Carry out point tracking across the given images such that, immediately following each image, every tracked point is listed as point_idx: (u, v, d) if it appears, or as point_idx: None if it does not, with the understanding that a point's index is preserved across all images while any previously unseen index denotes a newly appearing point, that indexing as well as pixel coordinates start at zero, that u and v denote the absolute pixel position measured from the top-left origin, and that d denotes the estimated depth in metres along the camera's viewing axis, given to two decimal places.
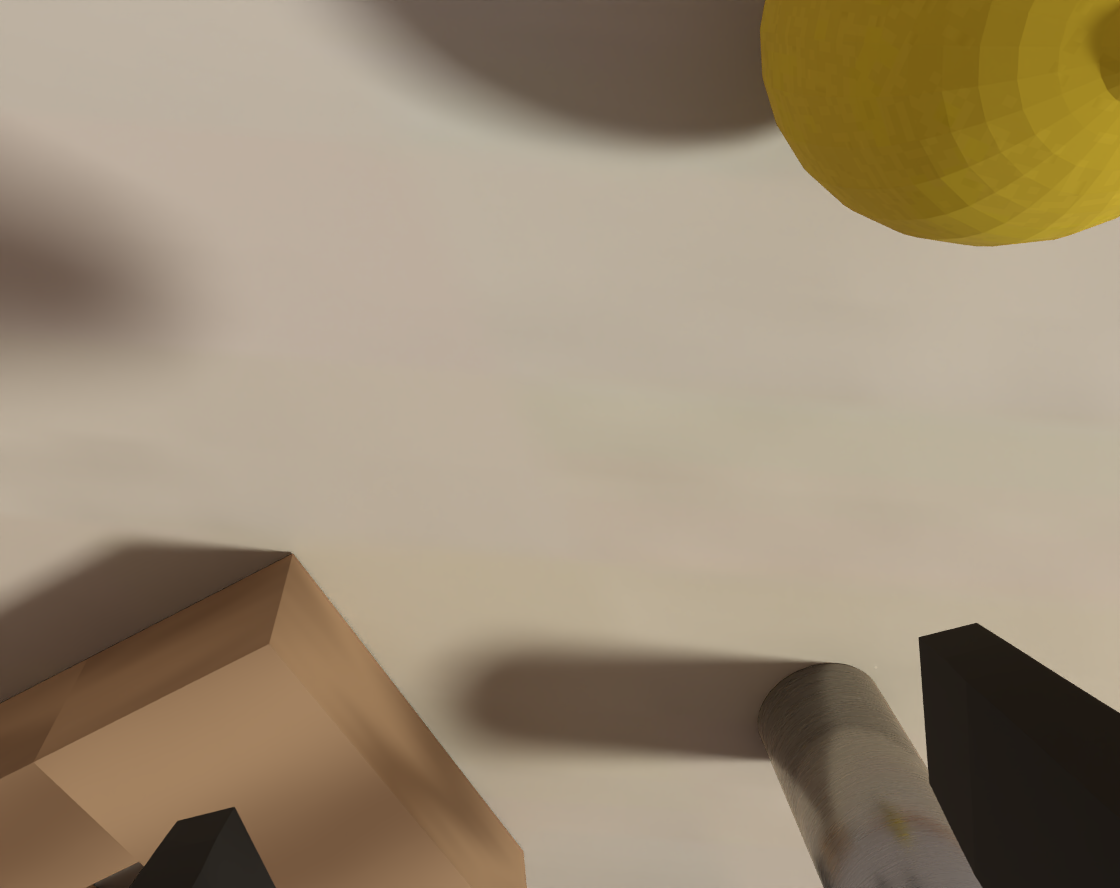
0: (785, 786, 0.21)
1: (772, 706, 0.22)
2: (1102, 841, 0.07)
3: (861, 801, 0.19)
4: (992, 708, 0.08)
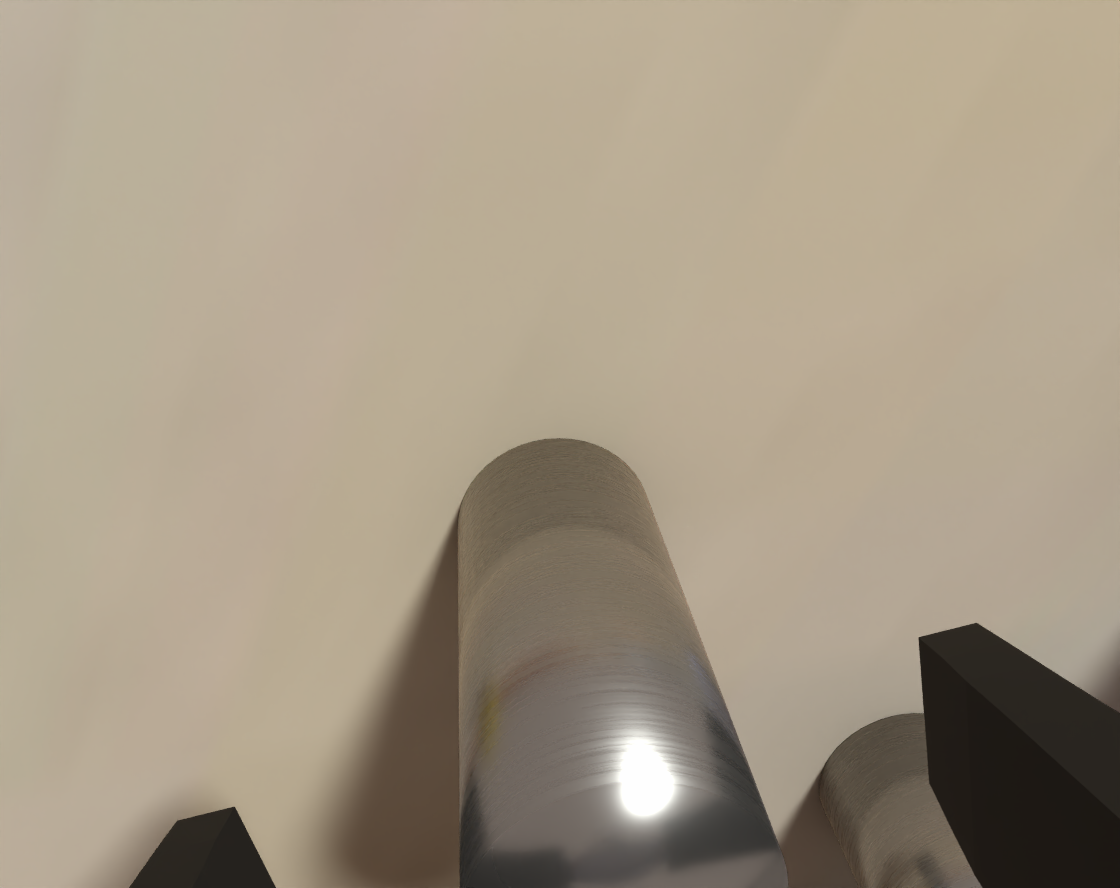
0: None
1: None
2: (1102, 841, 0.07)
3: None
4: (992, 708, 0.08)
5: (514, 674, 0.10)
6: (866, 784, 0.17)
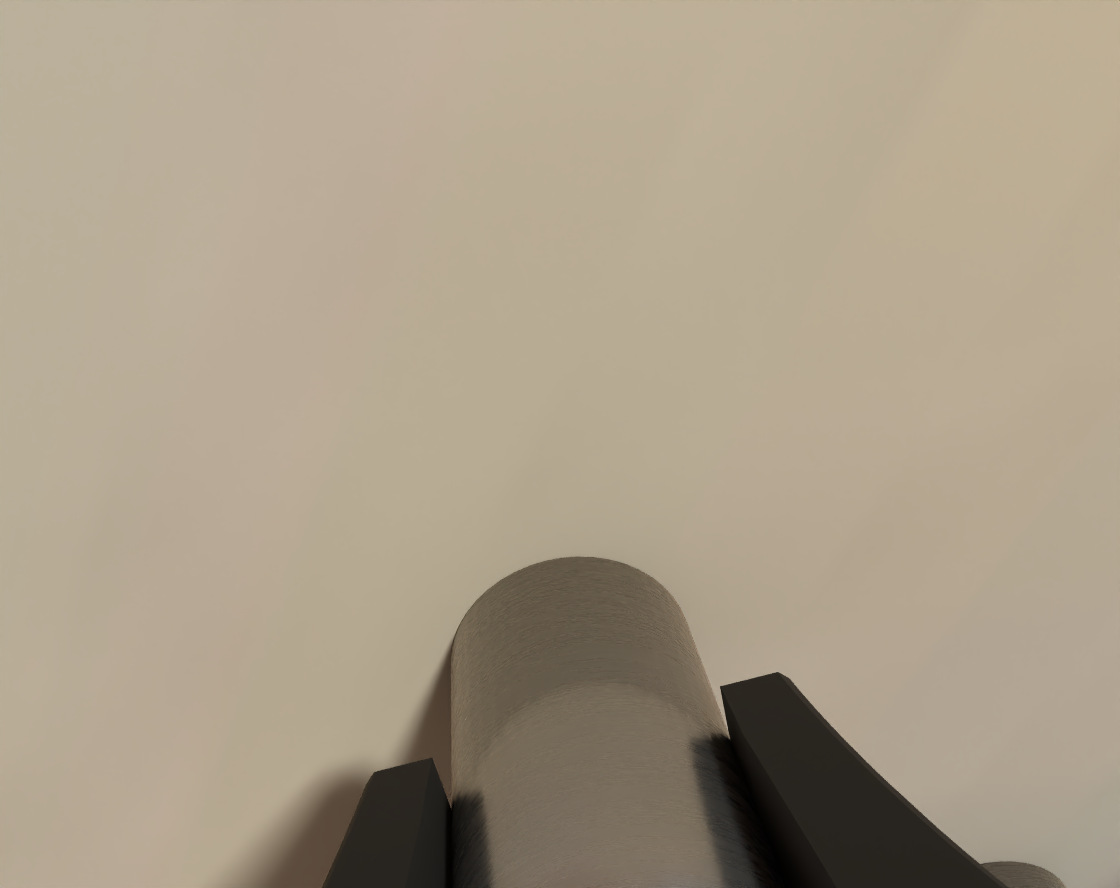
0: None
1: None
2: None
3: None
4: (761, 765, 0.08)
5: None
6: None
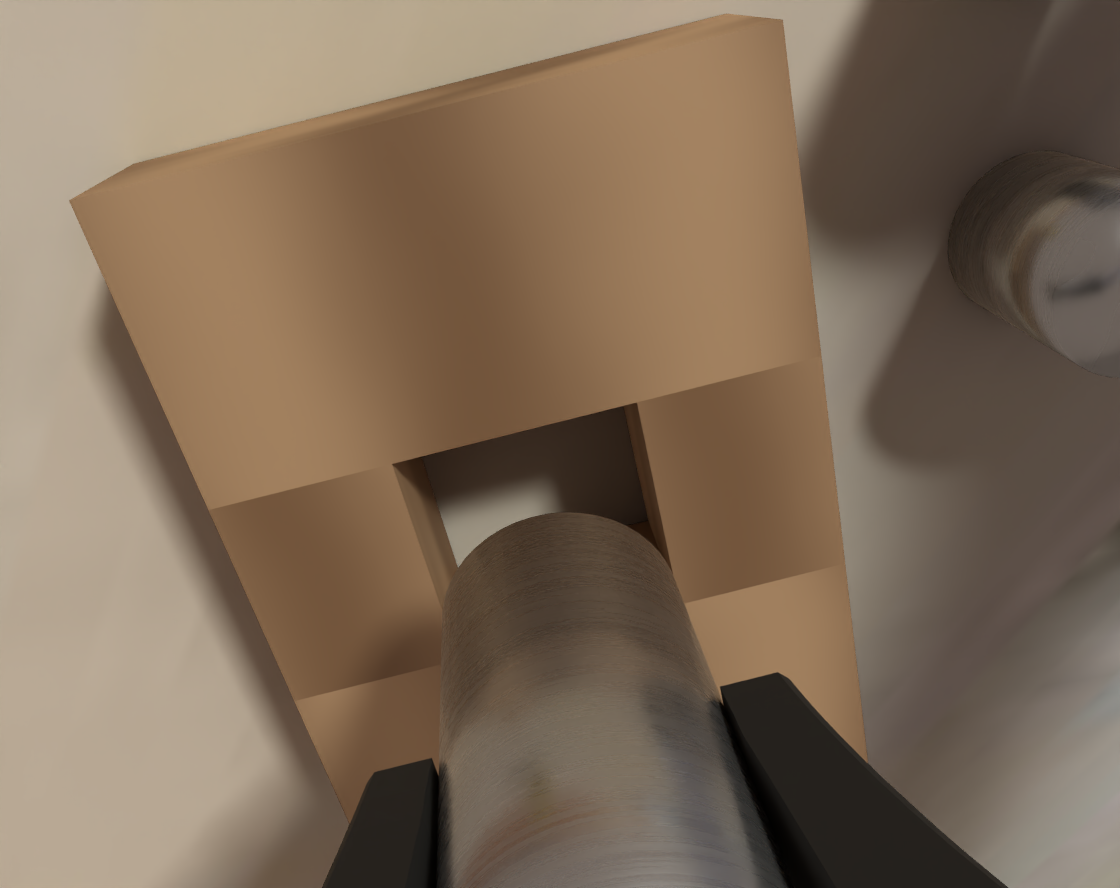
0: None
1: None
2: None
3: None
4: (761, 765, 0.08)
5: (528, 865, 0.07)
6: None
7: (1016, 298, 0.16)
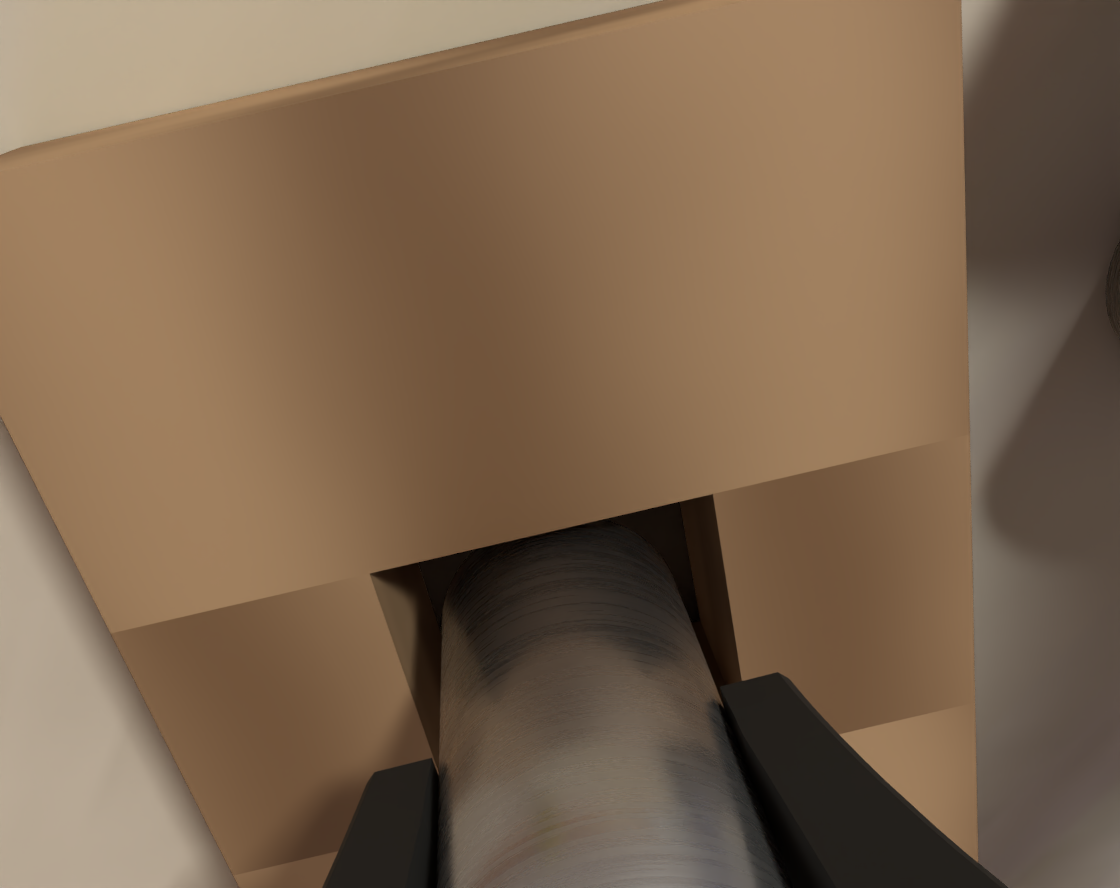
0: None
1: None
2: None
3: None
4: (761, 765, 0.08)
5: (528, 869, 0.07)
6: None
7: None
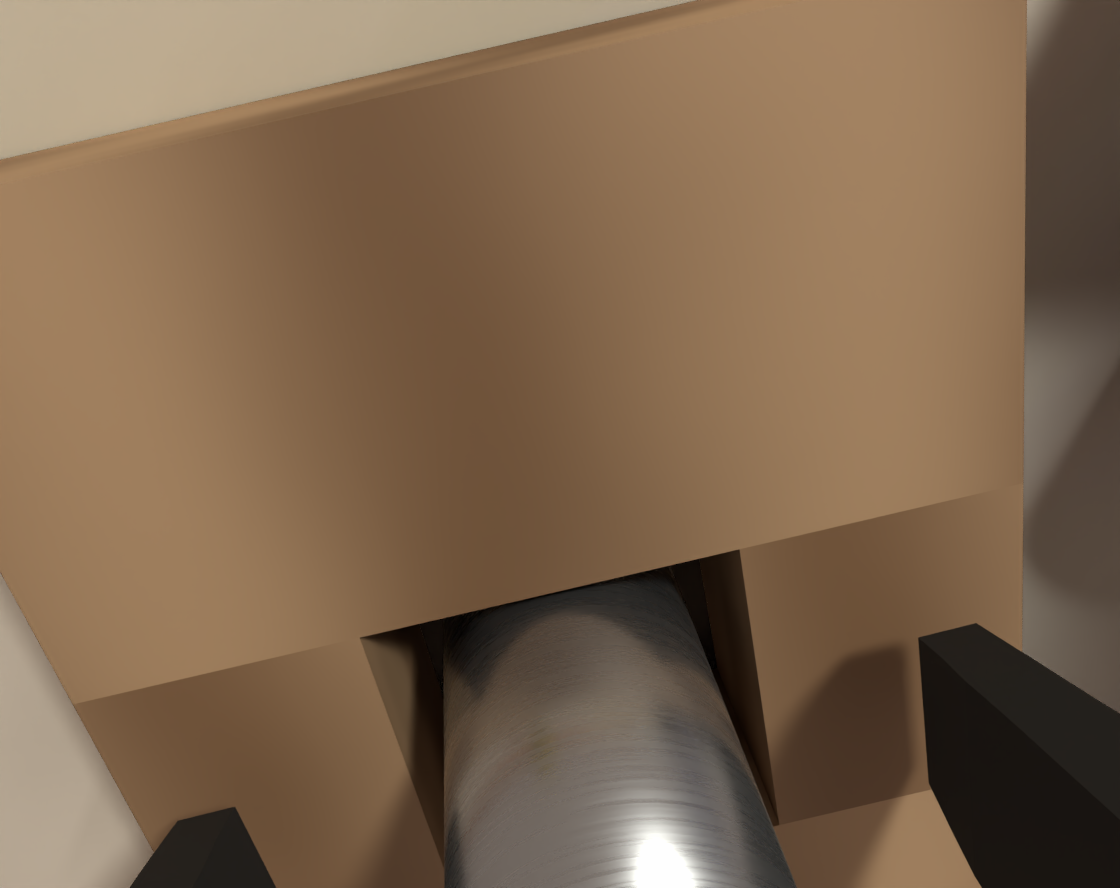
0: None
1: None
2: (1101, 841, 0.07)
3: None
4: (992, 708, 0.08)
5: (525, 762, 0.08)
6: None
7: None
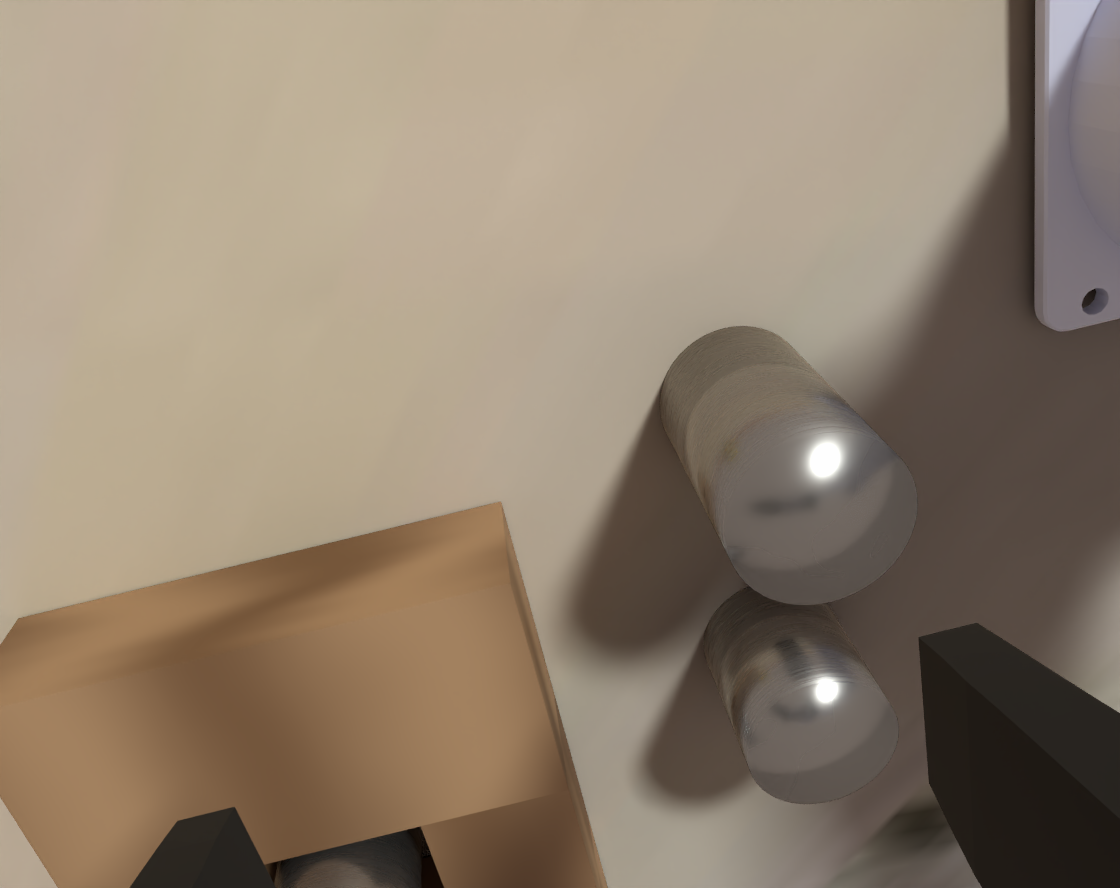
0: None
1: None
2: (1102, 841, 0.07)
3: None
4: (992, 708, 0.08)
5: None
6: (692, 374, 0.18)
7: (734, 730, 0.20)
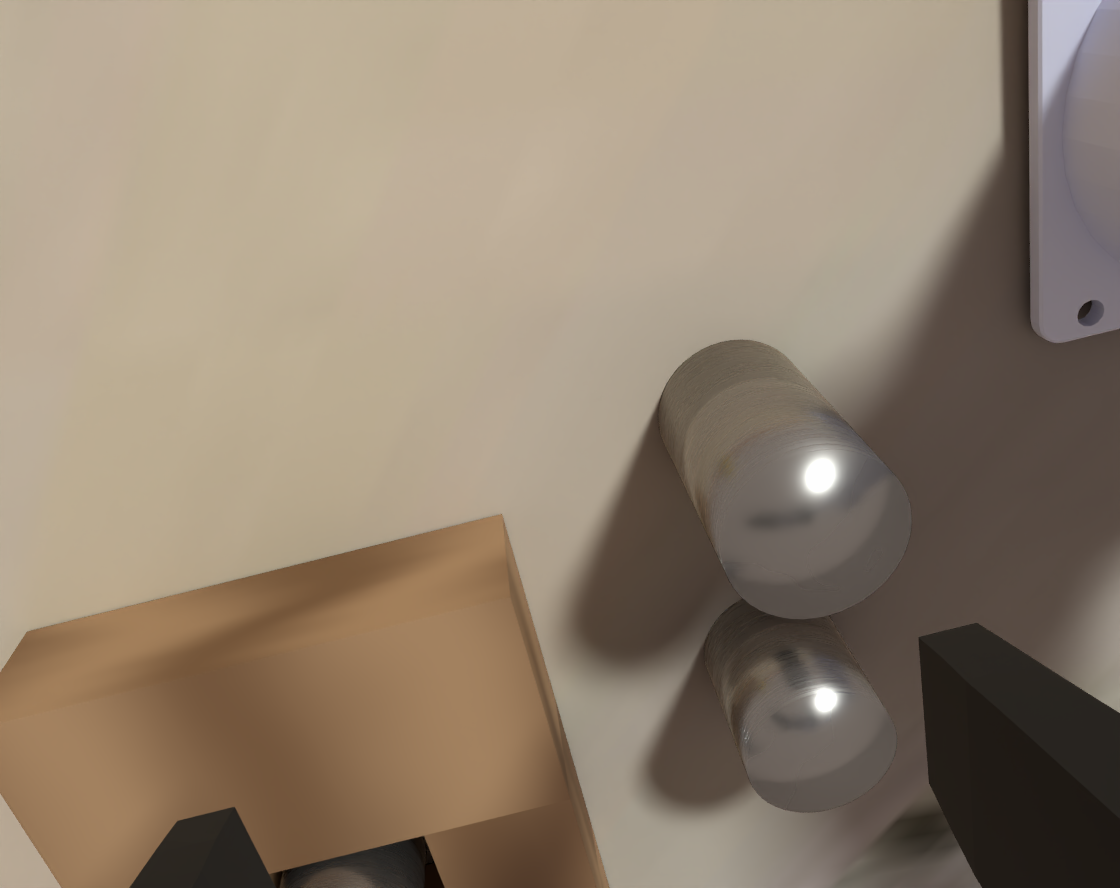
0: None
1: None
2: (1102, 841, 0.07)
3: None
4: (992, 708, 0.08)
5: None
6: (689, 388, 0.18)
7: (734, 739, 0.20)
